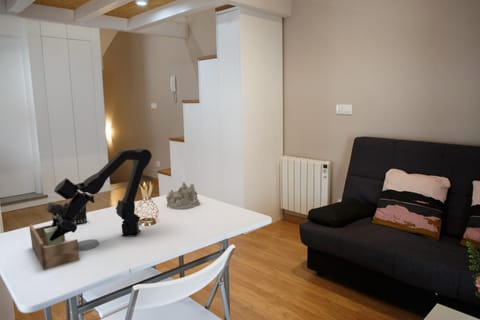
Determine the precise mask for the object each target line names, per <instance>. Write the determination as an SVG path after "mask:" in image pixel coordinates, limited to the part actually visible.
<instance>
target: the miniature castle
mask: <svg viewBox="0 0 480 320" xmlns="http://www.w3.org/2000/svg"><path fill="white" fill-rule="evenodd" d="M165 199H166V201H167V204H166V207H168V208H170V209H172V210H179V211H185V210H190V209H193V208H196V207H198V206H200V204H201V203H200V200H199V199H198V192H197V191H196V190H195V184H194V183H190V186H188V185H187V184H186V182H185V181H183V182H182V184H181V187H180V186H179V189H178V190H175V191H174V190H173V189H170V191H168V194H167V195H166V197H165Z"/></svg>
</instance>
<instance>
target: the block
mask: <svg viewBox="0 0 480 320" xmlns="http://www.w3.org/2000/svg"><path fill="white" fill-rule="evenodd" d="M56 228H57V226H56V227H51V228H47V229H44V234H45V241H46V245H45V247H47V246H51V245H55V244H59V243H63V241H62V239H61V236H60V237H58V238H57V239H55V240H53V241H51V240H50V238H51V236H52V234H53V233H54V231H55V229H56Z"/></svg>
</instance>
